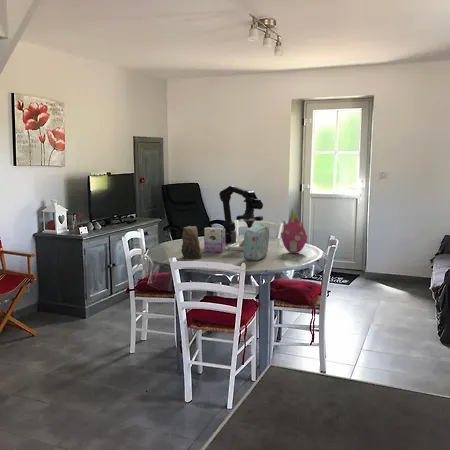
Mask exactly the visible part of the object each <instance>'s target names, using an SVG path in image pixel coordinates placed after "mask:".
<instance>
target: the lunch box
mask: <svg viewBox="0 0 450 450" xmlns="http://www.w3.org/2000/svg"><path fill="white" fill-rule="evenodd" d="M243 238H244V239H243V240H244V250H243V257H244V259H245V260H250V261H259V260H260V259H264V257H266V256H267V254H268V250H269V240H270V239H269V238H270V227H268V226H267V225H264V224H262V223H259V224H254V225H252V227H250V228H248V227H247V228H246V229H245V232H244V235H243Z"/></svg>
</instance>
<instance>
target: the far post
mask: <svg viewBox="0 0 450 450" xmlns="http://www.w3.org/2000/svg"><path fill="white" fill-rule="evenodd" d="M234 243H237V231H236V230H235V231H232V242H231V243H230V245H232V244H234Z"/></svg>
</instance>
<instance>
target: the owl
mask: <svg viewBox="0 0 450 450" xmlns="http://www.w3.org/2000/svg"><path fill="white" fill-rule="evenodd" d="M181 234H182V235H181V239H182V245H181V254H182V257H183V260H188V259H189V260H195V259H202V253H201V246H200V241H199V240H200V239H199V235H198V234H199V232H198V227H197V225H194V226H193V225H188V226H185V227H182V233H181Z"/></svg>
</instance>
